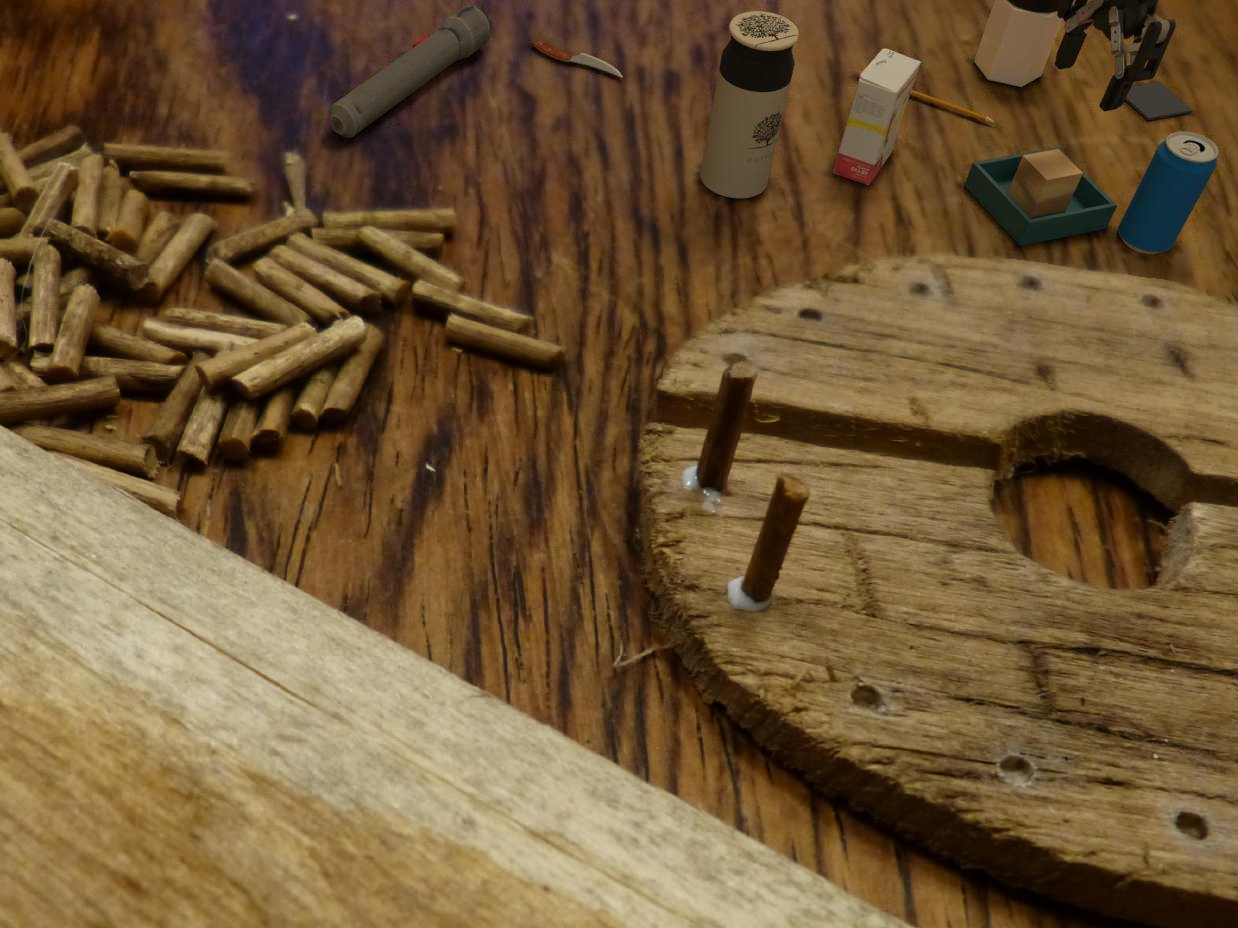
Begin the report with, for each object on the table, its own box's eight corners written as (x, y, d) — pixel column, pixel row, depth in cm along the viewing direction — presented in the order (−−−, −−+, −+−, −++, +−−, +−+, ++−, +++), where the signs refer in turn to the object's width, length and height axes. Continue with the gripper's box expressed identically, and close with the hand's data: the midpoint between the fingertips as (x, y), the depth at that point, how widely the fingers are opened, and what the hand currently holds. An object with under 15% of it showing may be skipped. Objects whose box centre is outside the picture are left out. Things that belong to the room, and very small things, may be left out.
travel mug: (688, 167, 151) (715, 14, 136) (748, 156, 153) (780, 5, 138) (717, 205, 147) (747, 52, 132) (778, 194, 149) (814, 42, 134)
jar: (1001, 45, 172) (1034, -48, 162) (1051, 72, 169) (1088, -21, 159) (961, 66, 168) (993, -28, 158) (1012, 94, 165) (1048, 0, 155)
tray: (1106, 228, 149) (1117, 205, 146) (1019, 246, 146) (1029, 222, 143) (1048, 170, 155) (1058, 146, 153) (963, 185, 152) (972, 162, 150)
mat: (1190, 113, 165) (1192, 110, 165) (1147, 120, 163) (1148, 117, 163) (1158, 84, 169) (1159, 81, 168) (1115, 91, 167) (1116, 88, 167)
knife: (631, 66, 161) (622, 76, 160) (631, 70, 162) (621, 81, 160) (538, 36, 164) (528, 46, 162) (538, 40, 165) (527, 50, 163)
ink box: (868, 187, 151) (897, 92, 141) (830, 173, 152) (856, 78, 142) (893, 153, 155) (923, 58, 145) (856, 140, 156) (883, 45, 147)
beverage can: (1181, 243, 148) (1233, 148, 138) (1153, 265, 145) (1204, 170, 136) (1133, 217, 151) (1181, 122, 141) (1104, 238, 148) (1151, 143, 138)
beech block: (1065, 211, 149) (1083, 172, 145) (1030, 218, 148) (1047, 179, 144) (1042, 187, 152) (1058, 148, 148) (1007, 193, 151) (1022, 155, 147)
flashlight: (346, 154, 150) (315, 123, 149) (482, 53, 164) (454, 24, 163) (359, 126, 146) (327, 94, 145) (497, 25, 159) (468, -5, 159)
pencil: (857, 77, 164) (858, 71, 164) (859, 75, 165) (860, 69, 164) (995, 127, 160) (997, 121, 159) (997, 124, 160) (999, 118, 160)
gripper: (1229, -39, 123) (1151, 118, 136) (1141, -107, 130) (1076, 49, 143) (1166, -30, 121) (1094, 128, 134) (1081, -100, 128) (1020, 57, 141)
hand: (1085, 87), depth 139 cm, fingers open, 8 cm apart
